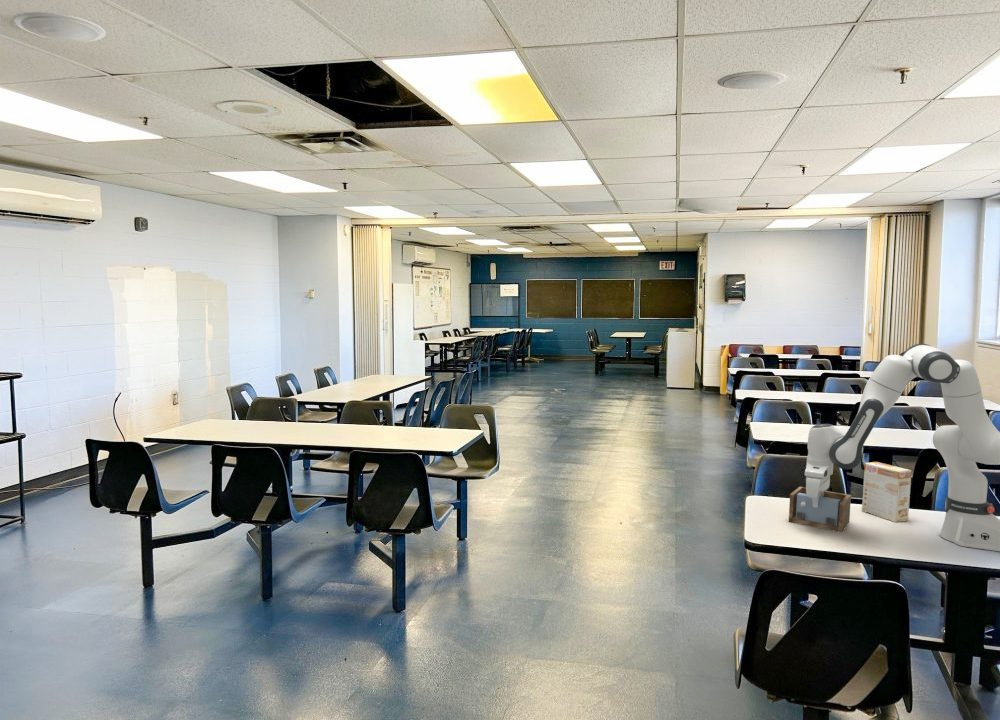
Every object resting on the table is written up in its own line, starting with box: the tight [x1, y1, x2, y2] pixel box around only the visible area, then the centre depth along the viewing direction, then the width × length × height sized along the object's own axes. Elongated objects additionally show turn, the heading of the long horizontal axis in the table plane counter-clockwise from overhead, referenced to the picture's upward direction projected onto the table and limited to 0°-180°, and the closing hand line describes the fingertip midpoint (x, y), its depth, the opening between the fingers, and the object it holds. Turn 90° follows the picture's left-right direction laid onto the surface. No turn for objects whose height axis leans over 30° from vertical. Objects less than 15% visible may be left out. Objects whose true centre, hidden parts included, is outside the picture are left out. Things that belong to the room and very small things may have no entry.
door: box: [796, 493, 840, 526], centre depth 250 cm, size 14×4×9 cm, turn 53°
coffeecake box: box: [861, 461, 912, 523], centre depth 262 cm, size 15×7×20 cm, turn 22°
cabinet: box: [788, 486, 852, 533], centre depth 253 cm, size 18×14×10 cm
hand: (817, 505), depth 250 cm, fingers open, 5 cm apart
